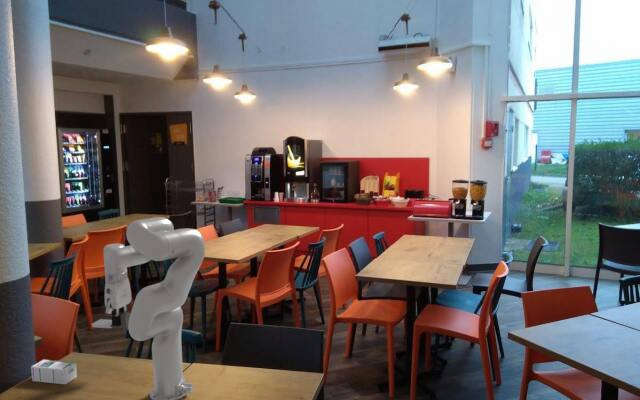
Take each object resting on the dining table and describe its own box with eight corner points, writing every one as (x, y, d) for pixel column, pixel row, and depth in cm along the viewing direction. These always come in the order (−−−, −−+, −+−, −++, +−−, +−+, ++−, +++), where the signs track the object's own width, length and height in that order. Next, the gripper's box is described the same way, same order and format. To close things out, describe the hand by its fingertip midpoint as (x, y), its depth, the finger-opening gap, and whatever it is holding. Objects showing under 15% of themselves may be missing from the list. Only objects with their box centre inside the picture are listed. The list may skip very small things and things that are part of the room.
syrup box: (64, 369, 165) (30, 365, 168) (66, 385, 165) (31, 381, 168) (76, 362, 170) (42, 358, 173) (77, 377, 171) (43, 373, 174)
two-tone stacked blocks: (132, 324, 177) (131, 311, 177) (124, 329, 173) (123, 316, 172) (100, 322, 180) (99, 309, 180) (91, 327, 176) (90, 314, 175)
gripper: (111, 284, 165) (114, 333, 167) (138, 271, 181) (140, 316, 183) (92, 282, 166) (96, 331, 169) (120, 270, 182) (123, 315, 184)
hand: (119, 323), depth 176 cm, fingers closed on two-tone stacked blocks, 2 cm apart
